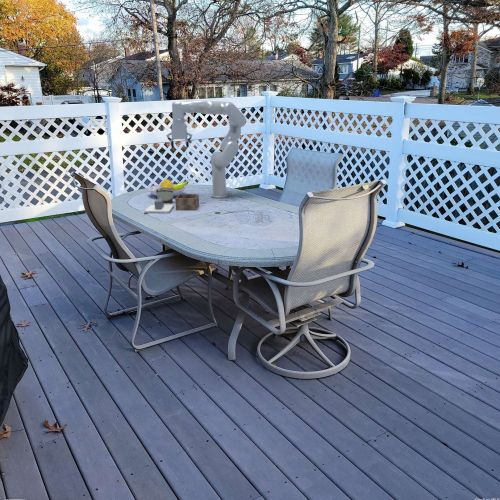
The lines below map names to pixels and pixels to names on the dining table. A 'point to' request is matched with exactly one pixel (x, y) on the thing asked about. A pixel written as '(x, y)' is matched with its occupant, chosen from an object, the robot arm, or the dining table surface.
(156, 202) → the lid
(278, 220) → the dining table surface
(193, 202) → the storage box
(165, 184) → the fruit bowl
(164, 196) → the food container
